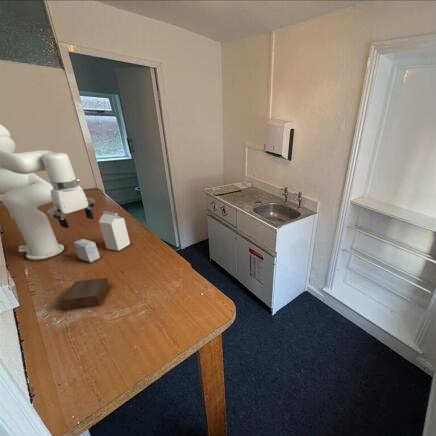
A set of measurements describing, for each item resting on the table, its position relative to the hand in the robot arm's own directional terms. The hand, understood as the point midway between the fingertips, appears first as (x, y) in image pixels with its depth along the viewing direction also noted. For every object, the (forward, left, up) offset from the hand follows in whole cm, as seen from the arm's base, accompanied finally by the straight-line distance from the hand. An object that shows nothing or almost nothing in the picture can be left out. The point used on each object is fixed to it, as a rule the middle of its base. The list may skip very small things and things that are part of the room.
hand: (78, 222), depth 100 cm
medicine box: (0, 0, -19) cm, 19 cm away
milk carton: (+9, +9, -19) cm, 22 cm away
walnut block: (+10, -28, -18) cm, 35 cm away
